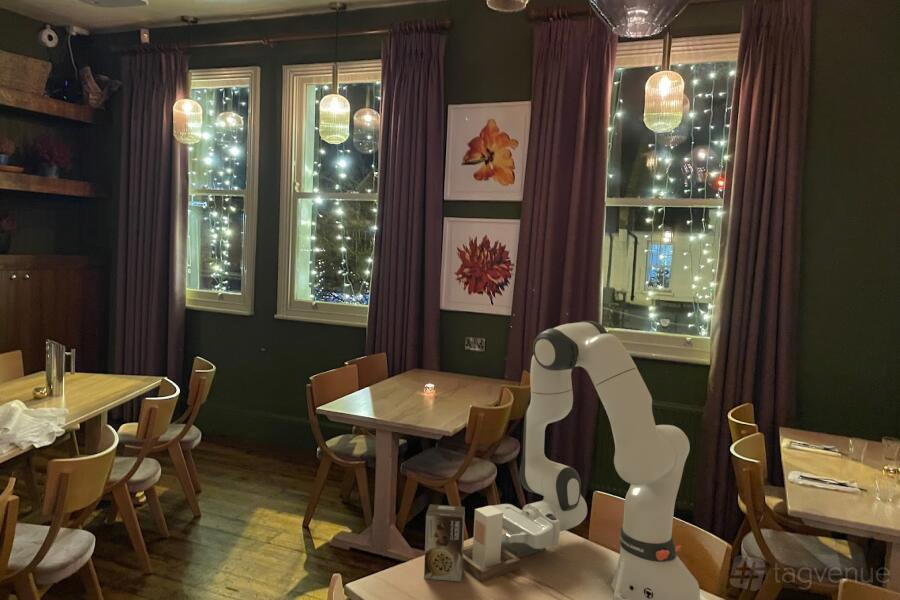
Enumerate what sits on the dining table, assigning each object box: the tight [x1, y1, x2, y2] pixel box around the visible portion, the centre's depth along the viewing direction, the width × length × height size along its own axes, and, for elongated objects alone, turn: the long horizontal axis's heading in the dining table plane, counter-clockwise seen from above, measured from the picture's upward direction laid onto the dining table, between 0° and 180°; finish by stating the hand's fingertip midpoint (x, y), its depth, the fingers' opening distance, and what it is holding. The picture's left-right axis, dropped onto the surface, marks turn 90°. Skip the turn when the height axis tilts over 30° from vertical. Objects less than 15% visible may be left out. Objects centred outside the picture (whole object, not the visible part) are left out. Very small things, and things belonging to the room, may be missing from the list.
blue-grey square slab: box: [501, 532, 546, 558], centre depth 176 cm, size 10×10×2 cm
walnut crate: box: [463, 544, 522, 582], centre depth 165 cm, size 12×12×2 cm
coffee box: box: [423, 503, 466, 582], centre depth 159 cm, size 9×6×16 cm
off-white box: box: [471, 505, 503, 568], centre depth 164 cm, size 5×5×14 cm
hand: (495, 531), depth 166 cm, fingers open, 8 cm apart
